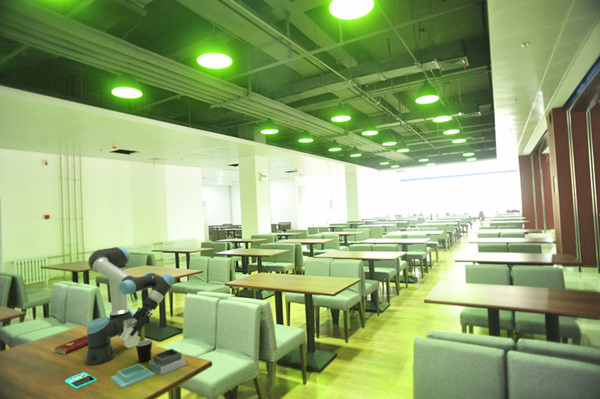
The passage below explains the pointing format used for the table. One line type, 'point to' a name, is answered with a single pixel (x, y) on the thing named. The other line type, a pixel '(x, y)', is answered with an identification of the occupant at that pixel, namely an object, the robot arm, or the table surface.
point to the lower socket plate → (132, 375)
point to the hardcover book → (72, 345)
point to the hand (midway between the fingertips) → (123, 340)
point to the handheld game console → (80, 380)
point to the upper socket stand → (167, 361)
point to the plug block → (127, 328)
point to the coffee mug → (144, 350)
